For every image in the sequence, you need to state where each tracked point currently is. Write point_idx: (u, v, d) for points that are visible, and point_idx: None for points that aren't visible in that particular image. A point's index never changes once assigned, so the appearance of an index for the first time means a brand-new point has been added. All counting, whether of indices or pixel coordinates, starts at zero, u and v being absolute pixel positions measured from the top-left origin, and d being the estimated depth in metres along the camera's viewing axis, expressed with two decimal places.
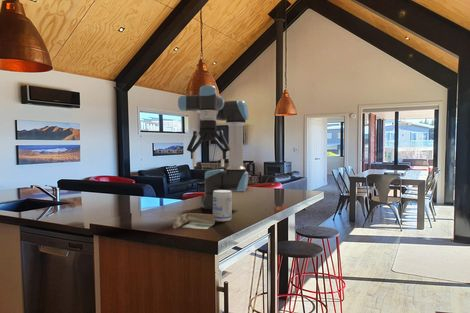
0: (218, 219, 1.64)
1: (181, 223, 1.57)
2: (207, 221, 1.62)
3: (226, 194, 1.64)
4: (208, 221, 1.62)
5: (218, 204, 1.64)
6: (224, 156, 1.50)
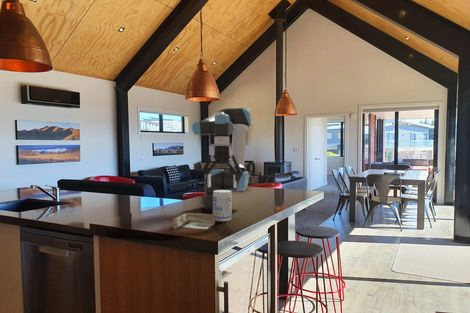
0: (218, 219, 1.64)
1: (181, 223, 1.57)
2: (207, 221, 1.62)
3: (226, 194, 1.64)
4: (208, 221, 1.62)
5: (218, 204, 1.64)
6: (236, 178, 1.65)
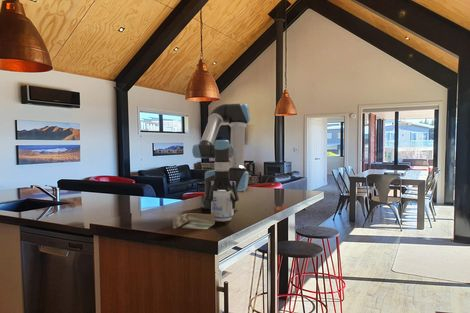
0: (218, 219, 1.64)
1: (181, 223, 1.57)
2: (207, 221, 1.62)
3: (226, 194, 1.64)
4: (208, 221, 1.62)
5: (218, 204, 1.64)
6: (233, 206, 1.66)
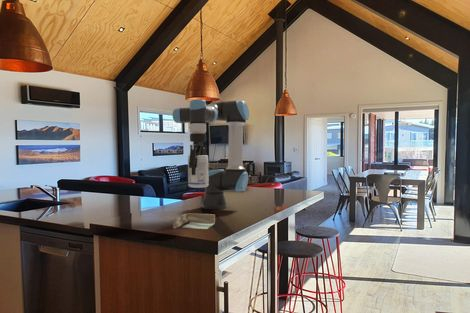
0: None
1: (181, 223, 1.57)
2: (207, 221, 1.62)
3: (188, 158, 1.52)
4: (208, 221, 1.62)
5: None
6: (192, 172, 1.49)
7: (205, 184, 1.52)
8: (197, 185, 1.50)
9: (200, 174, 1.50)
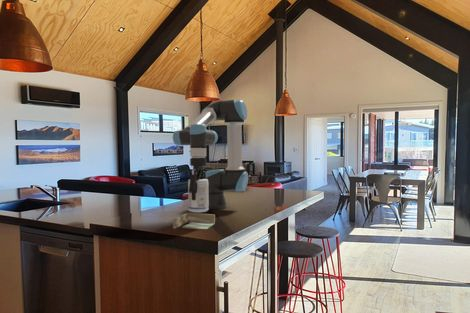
0: None
1: (181, 223, 1.57)
2: (207, 221, 1.62)
3: (189, 182, 1.52)
4: (208, 221, 1.62)
5: None
6: (192, 197, 1.49)
7: (205, 209, 1.52)
8: (197, 210, 1.51)
9: (200, 198, 1.51)
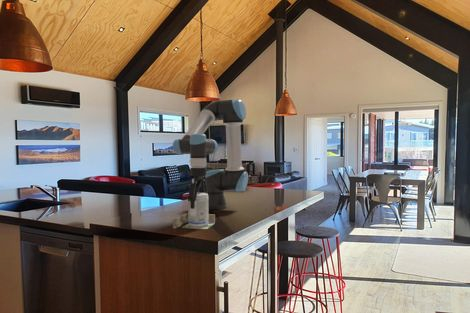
0: None
1: (181, 223, 1.57)
2: None
3: None
4: None
5: None
6: (191, 205, 1.48)
7: (205, 223, 1.52)
8: (197, 225, 1.51)
9: (200, 213, 1.51)
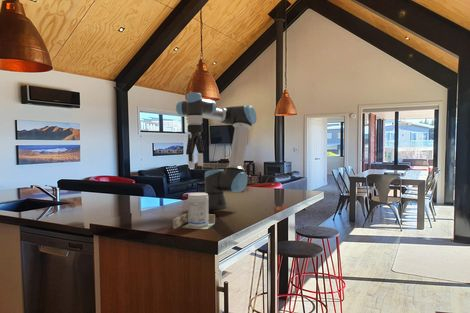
0: None
1: (181, 223, 1.57)
2: None
3: (189, 197, 1.52)
4: None
5: None
6: (189, 158, 1.58)
7: (205, 223, 1.52)
8: (197, 225, 1.51)
9: (200, 213, 1.51)
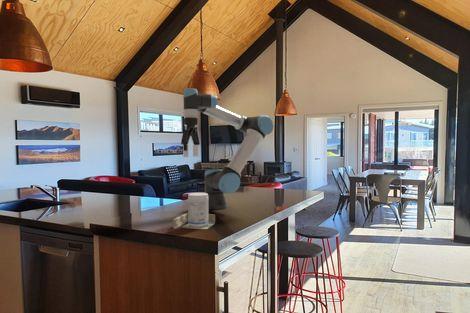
0: None
1: (181, 223, 1.57)
2: None
3: (189, 197, 1.52)
4: None
5: None
6: (184, 148, 1.73)
7: (205, 223, 1.52)
8: (197, 225, 1.51)
9: (200, 213, 1.51)
